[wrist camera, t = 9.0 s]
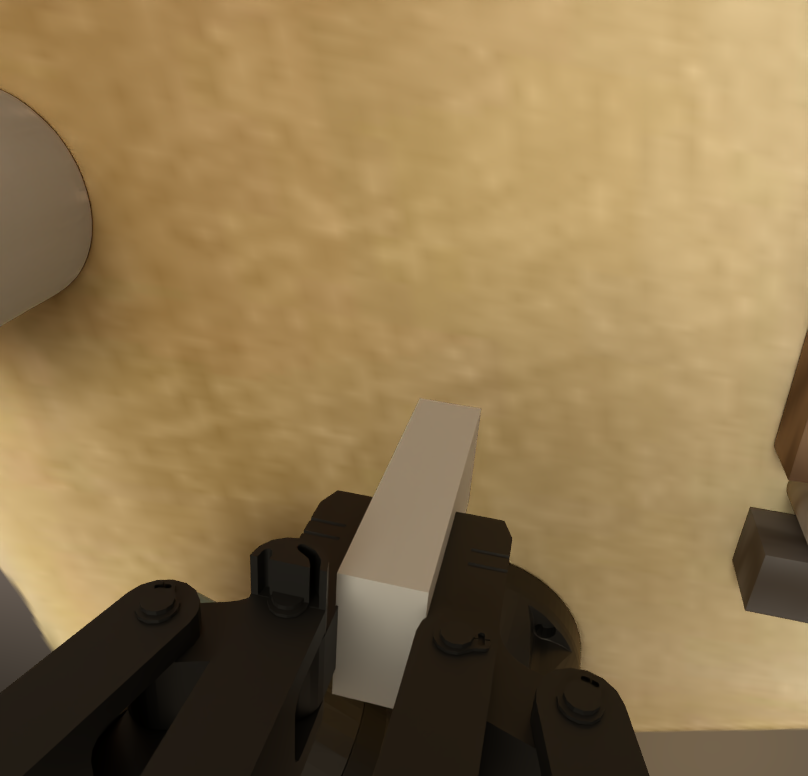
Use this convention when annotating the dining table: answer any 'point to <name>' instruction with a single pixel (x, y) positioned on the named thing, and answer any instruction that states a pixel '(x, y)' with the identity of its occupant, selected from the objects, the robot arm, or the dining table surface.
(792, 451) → the bar
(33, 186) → the utensil holder
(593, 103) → the dining table surface
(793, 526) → the base
